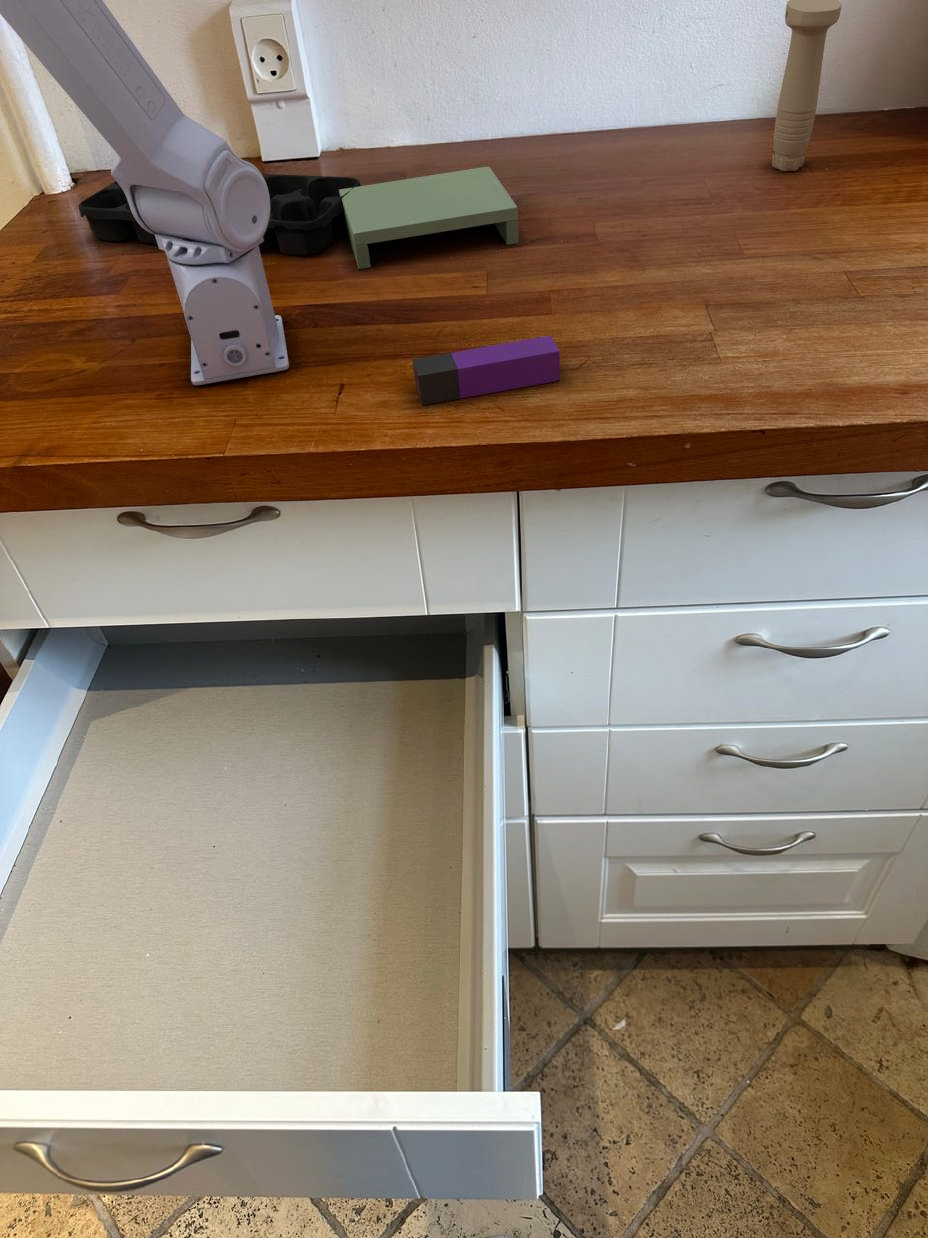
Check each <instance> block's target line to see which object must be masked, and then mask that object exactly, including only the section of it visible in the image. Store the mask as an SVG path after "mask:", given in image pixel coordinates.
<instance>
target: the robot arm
mask: <svg viewBox="0 0 928 1238" xmlns="http://www.w3.org/2000/svg"><path fill="white" fill-rule="evenodd" d="M0 16H1V17H2V18H3V19H4V20H5V22H6V23H7V24H8V25H9V26H10V27H11V29H12V30H13V31H14V32H15V34H16V35H17V36H18V37H19V38H20V39H21V41H22V42H23V43H24V44H25V46H26V47H27V48H28V49H29V50H30V52H31V53H32V54H33V55H34V57H36V59H37V60H38V61H39V62H40V63H41V65H42V66H43V67H44V69H46V71H47V72H48V73H49V75H50V76H52V78H53V79H54V80H55V81H56V83H57V84H58V85H59V86H60V87H61V88H62V90H63V91H64V92H65V94H66V95H68V97H69V98H70V99H71V100H72V102H73V103H74V104H75V106H77V108H78V109H79V110H80V111H81V112H82V114H83V115H84V116H85V118H86V119H88V121H89V122H90V123H91V125H92V126H93V127H94V128H95V129H96V131H98V133H99V134H100V135H101V136H102V138H103V139H104V140H105V142H107V143H108V145H109V146H110V147H111V148H112V150H113V151H114V152H115V153H114V157H113V160H112V165H111V169H110V176H111V177H112V178H113V179H114V180H115V181H117V183H118V184H119V185H120V187H121V188H122V189H123V191H124V193H125V195H126V197H127V200H128V203H129V206H130V209H131V212H132V214H133V216H134V218H135V219H136V221H137V222H138V224H139V225H140V226H141V227H142V228H143V229H145V230H146V231H147V232H149V233H151V234H154V235H155V237H156V240H157V244H156V245H157V246H158V249H159V250H161V251H163V252H165V255H166V259H167V262H168V265H169V269H170V272H171V275H172V277H173V281H174V285H175V289H176V291H177V295H178V297H179V301H180V304H181V308H182V311H183V315H184V319H185V323H186V327H187V329H188V333H189V336H190V339H191V340H190V352H191V353H190V357H191V358H190V382H191V384H192V385H193V386H203V385H208V384H213V383H220V382H227V381H231V380H237V379H242V378H248V377H254V376H260V375H265V374H266V375H267V374H271V373H278V372H283V371H287V370H288V369H289V368H290V362H289V356H288V350H287V349H288V348H287V342H286V335H285V330H284V324H283V323H284V322H283V318H282V316H281V315H278V314H277V315H276V314H275V310H274V306H273V305H274V304H273V302H272V301H273V300H272V297H271V293H270V289H269V284H268V280H267V275H266V271H265V267H264V263H263V258H262V254H261V252H260V250H259V246H258V245H259V244H261V243H262V242H263V241H264V239H263V236H264V234H265V231H266V229H267V226H268V223H269V218H270V196H269V191H268V187H267V184H266V182H265V180H264V178H263V176H262V174H263V173H261V171H260V170H259V169H258V168H257V167H256V165H254V164H253V163H251V162H249V161H246V160H245V159H242V158H241V157H239V156H238V155H237V154H236V153H235V152H234V150H233V149H232V148H231V146H230V145H229V143H228V141H227V140H225V139H224V138H222V137H221V136H219V135H218V134H216V133H215V132H213V131H212V130H210V129H208V128H207V127H205V126H203V125H202V124H201V123H198V122H197V121H195V119H194V120H193V119H192V118H190V117H189V116H188V115H186V114H185V113H184V112H183V110H182V109H181V108H180V107H179V105H178V103H177V102H176V100H175V99H174V98H173V96H172V95H171V94H170V92H169V91H168V89H167V88H166V87H165V85H164V84H163V82H162V81H161V79H159V77H158V76H157V74H156V73H155V72H154V70H153V69H152V67H151V66H150V65H149V63H148V62H147V60H146V59H145V57H144V56H143V55H142V53H141V52H140V50H139V49H138V48H137V46H136V45H135V43H134V42H133V41H132V40H131V38H130V36H129V35H128V33H126V32H127V31H125V30H124V28H123V27H122V25H121V24H120V23H119V21H118V20H117V18H116V17H115V16H114V14H113V13H112V11H111V9H109V7H108V6H107V4H106V3H105V1H104V0H0Z"/></svg>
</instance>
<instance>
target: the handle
mask: <svg viewBox="0 0 928 1238" xmlns="http://www.w3.org/2000/svg"><path fill="white" fill-rule="evenodd" d="M842 6H843V5H842V2H841V1H840V0H788V1H787V2H786V5H785V12H784V13H785V14H784V20H785V25H786V26H787V27H789V28H790V29H791V35H790V36H791V37H790V43H789V48H788V53H787V57H786V63H785V69H784V72H783V73H784V74H783V79H782V82H781V88H780V93H779V98H778V102H777V108H776V116H775V122H774V130H773V131H774V133H773V152H774V154H772V156H771V157H772V158H771V165H772V168H773V169H776V170H779V171H780V172H796V171H798V170H799V168H802V166H803V165H804V162H805V159H806V155H807V154H806V152H807V150H808V147H809V144H810V139H811V138H812V137H811V136H812V132H813V128H814V124H815V123H814V122H815V119H816V115H817V114H816V113H817V108H818V101H819V93H820V84H821V77H822V69H823V68H822V67H823V60H824V52H825V45H826V40H827V39H826V38H827V32H828V30H829V29H830V28H831V27H832V26H834V25H835V24H837V23H838V22H839V19H840V16H841V12H842V11H841V10H842Z"/></svg>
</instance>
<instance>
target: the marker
mask: <svg viewBox="0 0 928 1238" xmlns="http://www.w3.org/2000/svg"><path fill="white" fill-rule="evenodd" d="M412 369H413V376H414V383H415V390H416V393H417V396H418V399H419V401H420V402H419V403H420V405H421V406H422V407H423V406H429V405H434V404H439V403H445V402H451V401H455V400H456V401H457V400H460V399H467V398H471V397H477V396H482V395H488V394H489V395H490V394H494V393H498V392H499V393H500V392H505V391H510V390H516V389H523V388H527V387H533V386H538V385H543V384H550V383H555V382H560V381H561V351H560V349H559V347H558V345H557V343H556V342H555V341H554V339H553V337H552V336H551V335H545V336H540V337H534V338H533V337H532V338H529V339H528V338H527V339H521V340H516V341H510V342H506V343H500V344H493V345H487V346H483V347H476V348H471V349H465V350H459V351H454V352H451V353H450V352H447V353H441V354H436V355H430V356H425V357H419V358H413V359H412Z"/></svg>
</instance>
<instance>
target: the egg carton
mask: <svg viewBox="0 0 928 1238" xmlns="http://www.w3.org/2000/svg"><path fill="white" fill-rule="evenodd" d="M261 174H262V176H263V178H264V180H265V182H266V184H267V187H268V191H269V196H270V218H269V223H268V226H267V229H266V231H265V234H264V236H263V239H264V241H263V242H262V243H261V244H259V245H258V246H259V250H260V253H261V252H266V251H270V250H272V249H274V248H276V247H277V246H278V247H279V250H280V252H281V253H283V254H286V255H293V256H311V255H316V254H318V253H321V252H322V251H324V250H325V249H326V248H327V247H330V245H331V244H332V243H333V242H334V231H342V230H343V229H344V230H345V229H346V224H345V218H344V208H343V202H342V198H343V197H344V196H345V195H347V194H348V193H349V192H350V191H351V190H352V189H353V188H354V187H360V186H362V185H361V182H360V180H359V179H358V178H356V177H349V176H329V175H327V176H326V175H325V176H322V175H305V174H283V173H282V174H281V173H280V174H279V173H261ZM347 188H352V189H351V190H350V191H348V192H347V193H346V194H344V195H343V196H340V194H339V190H340V189H347ZM77 206H78V211H79V215H80V218H83V219H84V218H86V219H87V222H88V224H89V228H90V231H91V232H92V235H93V236H94V238H95V239H98V240H100V241H105V242H119V241H120V242H121V241H125V240H126V241H127V240H129V239H131V238H134V237H135V236H137V238H138V241H139V242H140V243H144V244H150V245H158V244H157V240H156V237H155V235H154V234H151V233H149V232H147V231H146V230H145V229H143V228H142V227H141V226H140V225H139V224H138V222H137V221H136V219H135V218H134V216H133V214H132V212H131V209H130V206H129V203H128V200H127V197H126V195H125V193H124V191H123V189H122V188H121V187H120V185H119V184H118V183H117V181H116V180H115V181H113V182H112V183H109V184H107V186H105V187H103V188H101V189H100V190H98V191H96V192H95V193H93V194H92V195H90V196H88V197H87V198H86V199H84V200H82V201H81V202H79V204H78V205H77Z"/></svg>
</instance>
